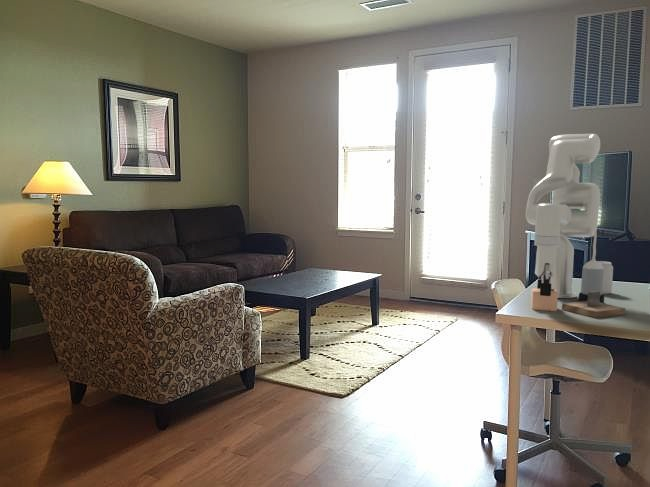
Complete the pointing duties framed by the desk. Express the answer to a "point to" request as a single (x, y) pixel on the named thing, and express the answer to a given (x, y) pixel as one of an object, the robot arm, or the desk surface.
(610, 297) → the desk surface
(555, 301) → the light orange block
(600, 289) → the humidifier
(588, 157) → the robot arm
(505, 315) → the desk surface
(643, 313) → the desk surface
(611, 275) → the can
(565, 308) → the stand
